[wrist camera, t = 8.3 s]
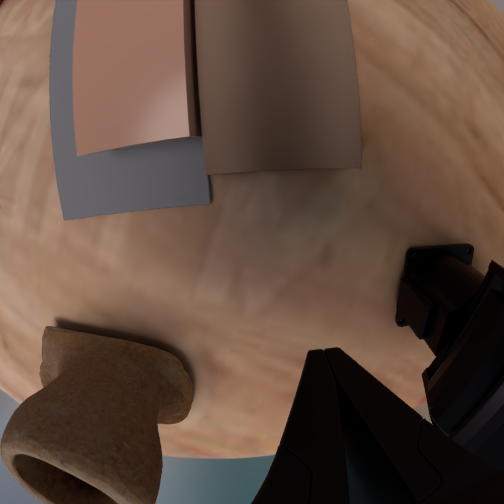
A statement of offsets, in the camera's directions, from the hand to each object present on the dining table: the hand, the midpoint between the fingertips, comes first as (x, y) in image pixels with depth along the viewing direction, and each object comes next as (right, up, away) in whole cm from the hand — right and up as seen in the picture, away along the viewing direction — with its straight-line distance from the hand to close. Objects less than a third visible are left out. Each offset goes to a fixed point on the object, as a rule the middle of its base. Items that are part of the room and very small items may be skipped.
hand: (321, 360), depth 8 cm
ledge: (-1, +15, +7) cm, 16 cm away
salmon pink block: (-5, +13, +5) cm, 15 cm away
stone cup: (-14, -7, +16) cm, 22 cm away
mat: (-10, +14, +7) cm, 19 cm away
